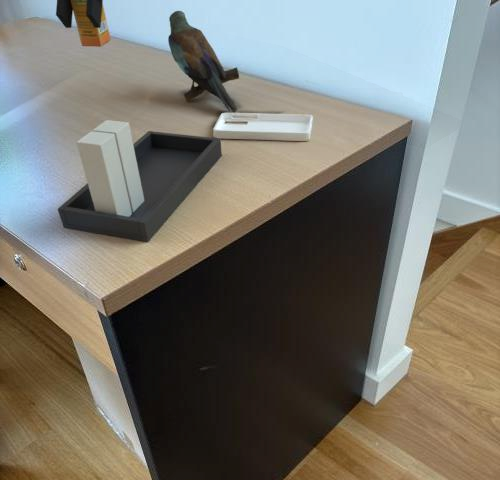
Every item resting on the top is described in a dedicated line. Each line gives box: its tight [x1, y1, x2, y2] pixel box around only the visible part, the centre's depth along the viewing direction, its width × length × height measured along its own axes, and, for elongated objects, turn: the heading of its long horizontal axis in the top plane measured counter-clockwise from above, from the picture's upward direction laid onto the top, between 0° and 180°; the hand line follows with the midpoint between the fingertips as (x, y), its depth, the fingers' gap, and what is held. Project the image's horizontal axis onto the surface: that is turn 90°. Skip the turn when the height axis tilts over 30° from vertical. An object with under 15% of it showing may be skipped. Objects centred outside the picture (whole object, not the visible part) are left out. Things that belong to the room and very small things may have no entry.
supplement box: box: [71, 0, 111, 48], centre depth 68 cm, size 3×3×10 cm
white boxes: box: [76, 119, 144, 217], centre depth 60 cm, size 3×6×10 cm, turn 161°
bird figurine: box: [167, 10, 240, 113], centre depth 89 cm, size 13×10×20 cm
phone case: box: [212, 112, 314, 142], centre depth 81 cm, size 7×1×15 cm
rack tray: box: [57, 130, 223, 243], centre depth 68 cm, size 12×24×3 cm, turn 161°
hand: (78, 21), depth 67 cm, fingers closed on supplement box, 3 cm apart
